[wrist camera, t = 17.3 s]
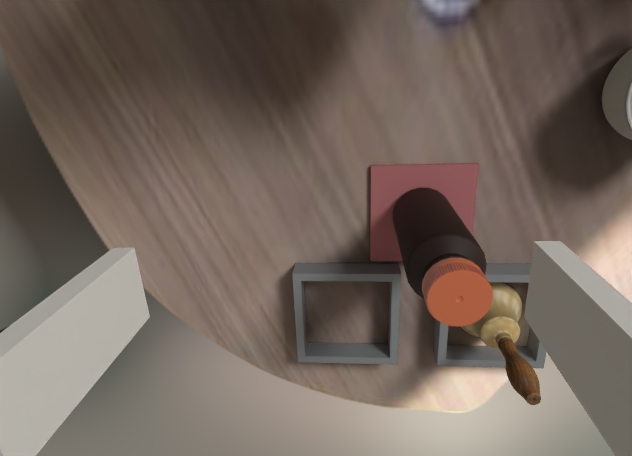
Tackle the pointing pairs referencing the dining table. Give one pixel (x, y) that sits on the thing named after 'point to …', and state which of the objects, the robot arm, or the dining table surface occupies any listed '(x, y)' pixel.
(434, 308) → the vinegar
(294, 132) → the dining table surface
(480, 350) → the bell tray
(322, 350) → the tray
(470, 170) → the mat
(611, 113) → the teacup
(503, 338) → the hand bell
